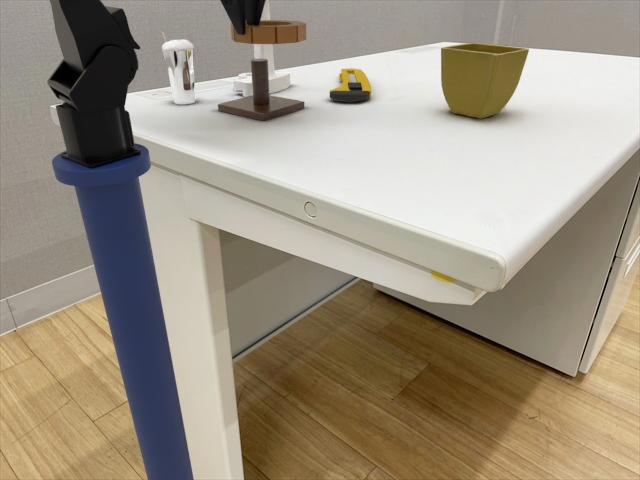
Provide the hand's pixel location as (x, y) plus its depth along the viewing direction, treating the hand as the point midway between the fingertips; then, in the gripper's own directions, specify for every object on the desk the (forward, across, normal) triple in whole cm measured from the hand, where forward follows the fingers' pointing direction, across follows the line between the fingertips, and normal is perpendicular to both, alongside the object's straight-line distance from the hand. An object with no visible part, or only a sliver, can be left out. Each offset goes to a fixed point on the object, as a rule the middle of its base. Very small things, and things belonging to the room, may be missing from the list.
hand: (247, 33), depth 64 cm
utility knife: (+11, +25, +1) cm, 27 cm away
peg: (+11, +5, +3) cm, 12 cm away
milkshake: (+11, +1, +16) cm, 19 cm away
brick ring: (+1, +4, 0) cm, 4 cm away
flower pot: (+11, +22, -23) cm, 34 cm away
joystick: (+11, +15, +13) cm, 23 cm away
